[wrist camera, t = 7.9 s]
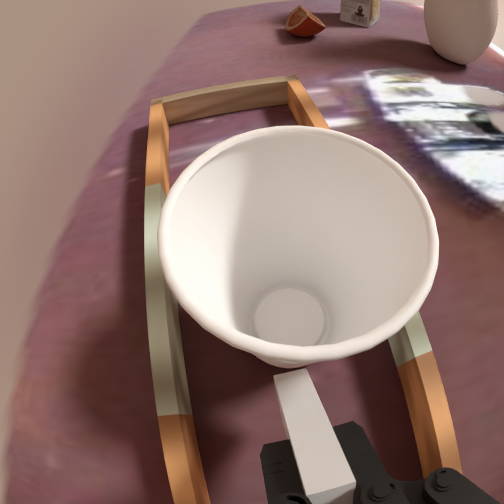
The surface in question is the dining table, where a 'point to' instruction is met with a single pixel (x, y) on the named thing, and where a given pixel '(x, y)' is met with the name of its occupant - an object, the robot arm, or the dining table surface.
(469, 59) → the vase
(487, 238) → the dining table surface
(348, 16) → the coffee box
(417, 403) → the track
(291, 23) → the fruit slice
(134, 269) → the dining table surface
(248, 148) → the cup
